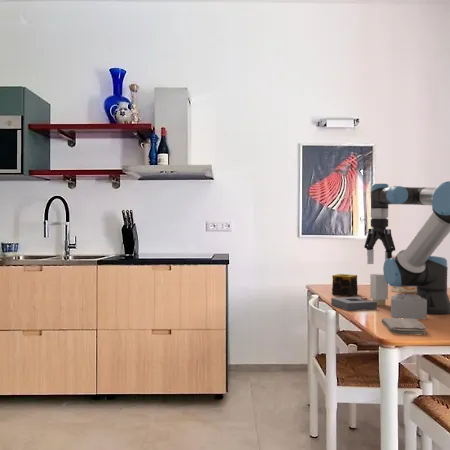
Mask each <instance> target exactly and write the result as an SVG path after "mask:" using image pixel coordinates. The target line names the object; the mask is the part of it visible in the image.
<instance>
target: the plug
mask: <svg viewBox="0 0 450 450" xmlns="http://www.w3.org/2000/svg"><path fill="white" fill-rule="evenodd" d="M369 281H370V283H369V284H370V285H369V286H370V287H369V288H370V290H369V291H370V292H369V294H370V295H369V297H370V300H371V299H372V301H375V302H377V305H378V306H379V305H380V306H386V305H387V304H386V302H387V301H386V300H389V284H388V283H387V281H386V279H385V277H384V273H371V274H370V280H369ZM378 306H377V307H378Z"/></svg>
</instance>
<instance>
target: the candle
mask: <svg viewBox="0 0 450 450" xmlns="http://www.w3.org/2000/svg"><path fill="white" fill-rule="evenodd" d="M331 278H332V287H331V294H332V295H334V296H341V297H354V296H356V295H358V291H359V289H358V288H359V287H358V275H357V274H344V273H340V274H339V273H337V274H334V275H333V274H332V277H331Z"/></svg>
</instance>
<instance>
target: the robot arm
mask: <svg viewBox="0 0 450 450" xmlns="http://www.w3.org/2000/svg"><path fill="white" fill-rule="evenodd" d="M370 189H371V190H370V218H371V219H370V227H371V228H368V231H367V236H366V240H365V243H364V246H363V247H364V249H366V250H367V251H366V256H367V261H366V262H367V265H374V261H375V260H374V259H375V258H374V256H375V255H374V247H375V245H376V243H377V241H378V240H380V241H381V242H382V244H383V246H384V249H385V251H384V262H383V265H382V266H383V267H382V268H383V270H382V271H383V274H384V277H385V279H386V281H387V283H388V286H390V287H391V286H393V287H408V286H417V291H416V292H415V295H419V296H420V297H421V298H424V299H426V300H427V314H432V315H446V314H447V315H449V314H450V298H449V295H448V268H449V267H448V260H447V259H446V258H445V257H441V256H435V255H433V254H434V252H435V251H436V249H437V248H438V247H439V246H440V245H441V243H442V242H443V241H444V240H445V238H446V237H447V236H448V235H449V234H450V180H449V181H448V180H447V181H445V182H442V183H440V184H438V186H436V187H426V186H425V187H420V186H419V187H415V186H414V187H413V186H411V187H410V186H402V185H394V186H390V187H389V184H388V183H373V184H372V185H371V188H370ZM389 205H404V206H405V205H413V206H415V205H416V206H431V210H432V213H431V215H430V216H429V217H428V218H427V220H426V221H425V222H424V224H423V225H422V227H421V228H420V229H419V231H418V232H417V233H416V235H415V236H414V238H413V239H412V240H411V242H410V243H409V244H408V246H407V247H406V248H405V249H401V250H400V251H399V252H398V253H397V254H396V255H397V256H396V257H395V258H392V255H393V252H396V246H395V244H394V240H393V236H392V229H390V228H388V227H389Z"/></svg>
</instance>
